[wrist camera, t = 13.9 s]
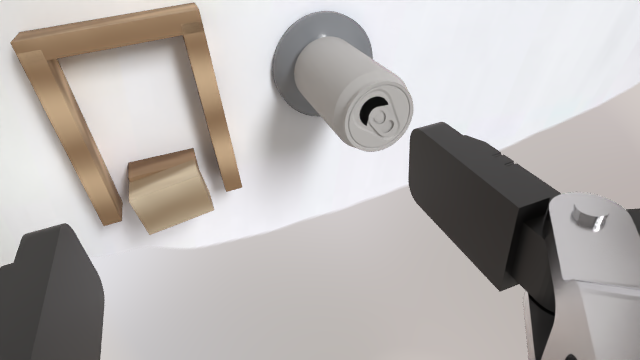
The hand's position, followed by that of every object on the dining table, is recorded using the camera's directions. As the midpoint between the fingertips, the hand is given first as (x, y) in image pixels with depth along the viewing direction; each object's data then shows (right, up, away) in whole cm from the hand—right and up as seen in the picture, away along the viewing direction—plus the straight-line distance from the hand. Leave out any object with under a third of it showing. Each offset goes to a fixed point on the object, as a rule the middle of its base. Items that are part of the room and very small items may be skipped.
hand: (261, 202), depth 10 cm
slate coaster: (+2, +12, +31) cm, 34 cm away
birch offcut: (-12, 0, +29) cm, 32 cm away
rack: (-14, +6, +28) cm, 32 cm away
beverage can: (+2, +11, +31) cm, 33 cm away
